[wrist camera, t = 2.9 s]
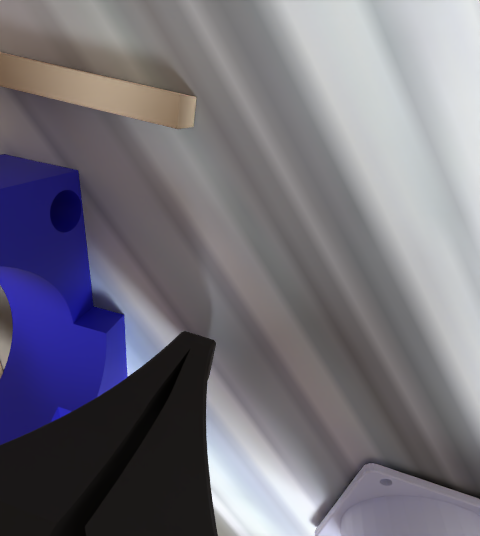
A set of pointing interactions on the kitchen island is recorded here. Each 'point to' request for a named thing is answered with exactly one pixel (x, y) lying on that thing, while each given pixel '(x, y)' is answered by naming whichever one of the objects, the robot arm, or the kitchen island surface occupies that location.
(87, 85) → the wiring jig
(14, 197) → the blue pipe clamp half
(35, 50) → the kitchen island surface
